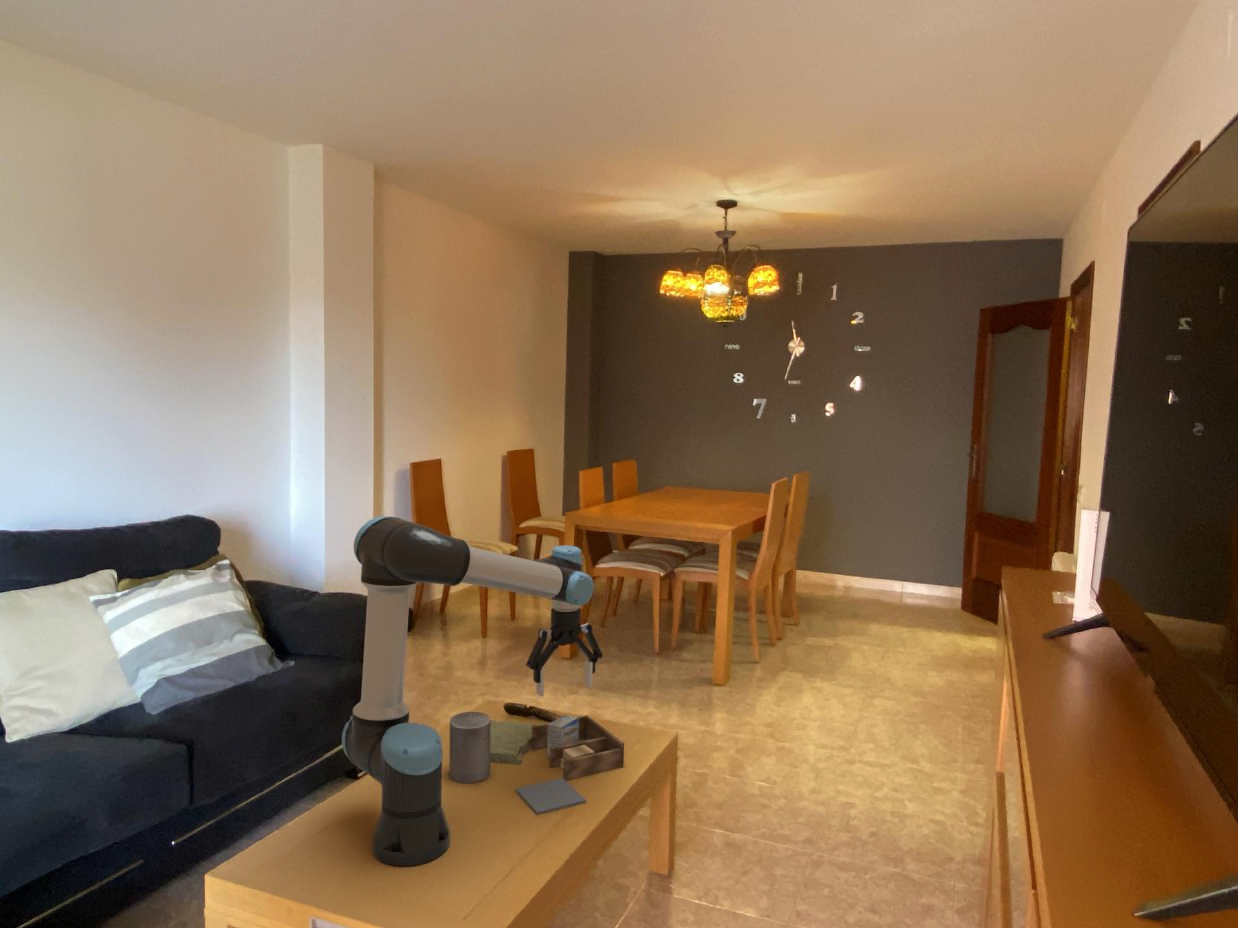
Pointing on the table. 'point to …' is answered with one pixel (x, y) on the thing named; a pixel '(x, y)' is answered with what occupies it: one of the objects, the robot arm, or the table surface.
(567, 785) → the mat
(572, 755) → the offcut short
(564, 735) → the medicine box
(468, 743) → the pillar candle
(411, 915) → the table surface
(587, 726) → the rack
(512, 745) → the green stone slab
